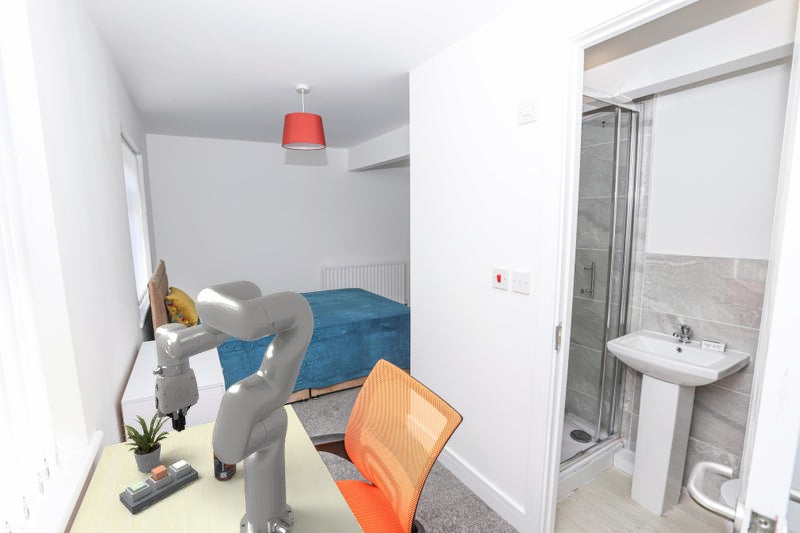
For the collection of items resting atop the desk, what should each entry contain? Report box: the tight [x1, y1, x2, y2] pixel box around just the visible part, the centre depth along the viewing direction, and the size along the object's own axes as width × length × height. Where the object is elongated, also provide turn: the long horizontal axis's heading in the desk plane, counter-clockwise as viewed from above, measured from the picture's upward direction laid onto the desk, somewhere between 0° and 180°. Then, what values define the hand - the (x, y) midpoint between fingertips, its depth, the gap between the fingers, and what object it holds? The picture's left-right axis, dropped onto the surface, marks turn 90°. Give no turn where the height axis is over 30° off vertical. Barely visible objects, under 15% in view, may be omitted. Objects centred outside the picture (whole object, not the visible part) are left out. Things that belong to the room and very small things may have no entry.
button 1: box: [128, 480, 146, 493], centre depth 106 cm, size 3×3×2 cm
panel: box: [118, 458, 199, 515], centre depth 110 cm, size 8×17×4 cm, turn 145°
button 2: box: [150, 464, 168, 482], centre depth 110 cm, size 3×3×2 cm
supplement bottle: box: [212, 450, 237, 481], centre depth 116 cm, size 6×6×11 cm
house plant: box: [122, 412, 171, 474], centre depth 120 cm, size 14×14×16 cm
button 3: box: [172, 459, 187, 471], centre depth 115 cm, size 3×3×2 cm
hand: (179, 429), depth 113 cm, fingers closed
